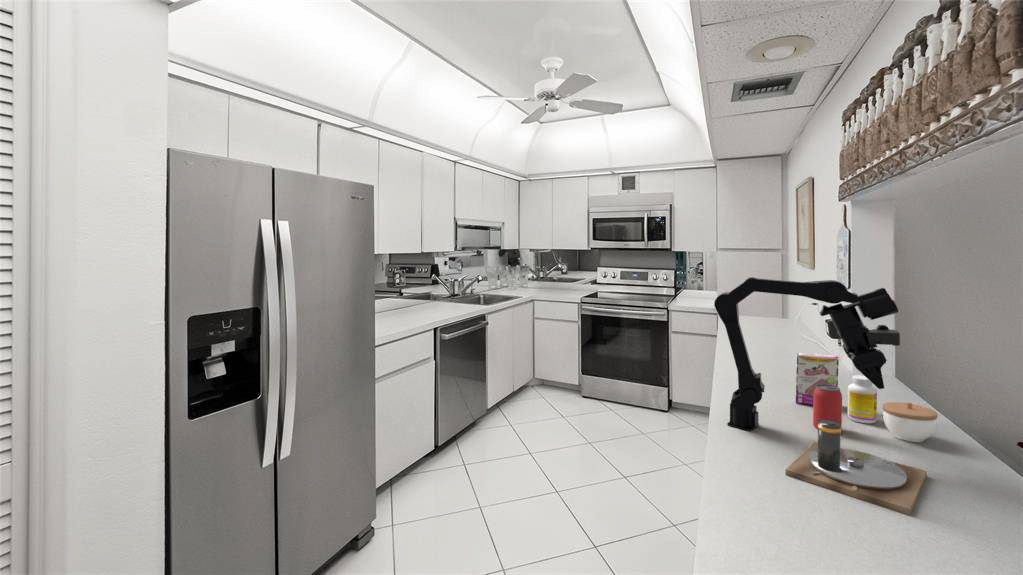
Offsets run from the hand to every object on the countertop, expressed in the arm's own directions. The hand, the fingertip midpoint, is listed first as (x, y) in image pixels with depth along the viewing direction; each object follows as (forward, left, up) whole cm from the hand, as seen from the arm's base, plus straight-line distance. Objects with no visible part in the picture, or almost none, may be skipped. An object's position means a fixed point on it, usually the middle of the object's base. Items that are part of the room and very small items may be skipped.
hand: (877, 383), depth 109 cm
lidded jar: (+4, +12, -17) cm, 21 cm away
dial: (0, -21, -15) cm, 26 cm away
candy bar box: (-20, +24, -17) cm, 35 cm away
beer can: (-12, +4, -17) cm, 21 cm away
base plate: (0, -21, -16) cm, 27 cm away
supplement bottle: (-7, +18, -17) cm, 25 cm away
